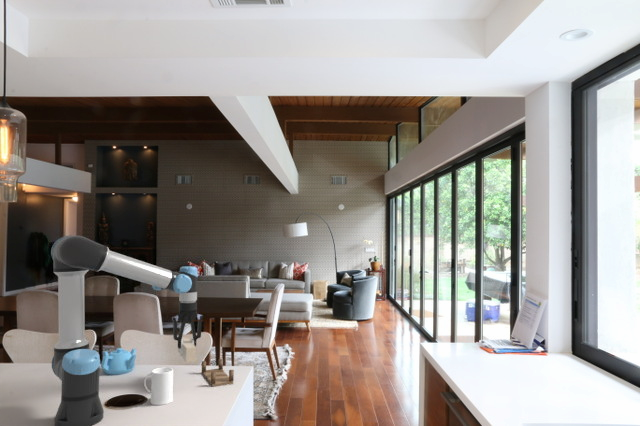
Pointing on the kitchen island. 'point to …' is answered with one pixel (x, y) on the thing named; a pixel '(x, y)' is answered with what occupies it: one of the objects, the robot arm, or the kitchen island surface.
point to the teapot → (118, 361)
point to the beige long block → (188, 351)
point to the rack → (218, 375)
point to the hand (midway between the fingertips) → (186, 355)
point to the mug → (161, 386)
